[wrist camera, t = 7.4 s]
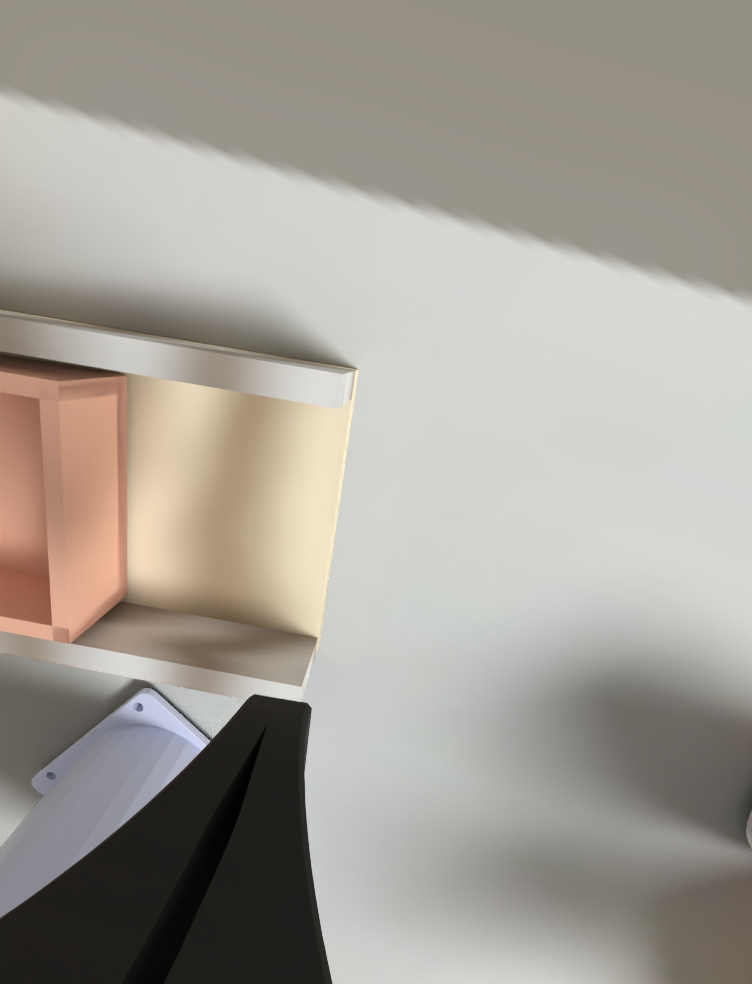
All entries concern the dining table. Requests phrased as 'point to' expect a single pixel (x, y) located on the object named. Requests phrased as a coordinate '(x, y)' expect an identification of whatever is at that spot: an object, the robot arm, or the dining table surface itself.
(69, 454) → the crate
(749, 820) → the soda can
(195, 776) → the robot arm
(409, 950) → the dining table surface
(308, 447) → the bay
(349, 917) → the dining table surface
